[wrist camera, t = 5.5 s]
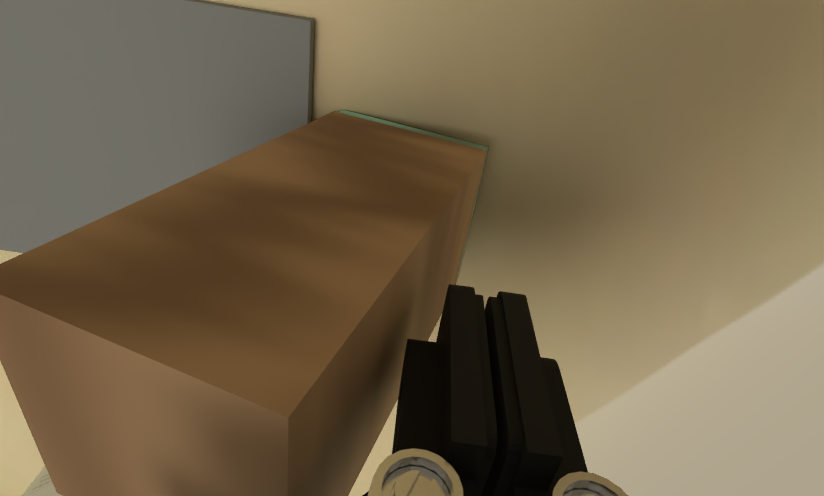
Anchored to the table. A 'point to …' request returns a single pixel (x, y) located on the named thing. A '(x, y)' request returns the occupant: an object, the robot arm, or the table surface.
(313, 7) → the table surface
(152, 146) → the mat
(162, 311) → the walnut block
